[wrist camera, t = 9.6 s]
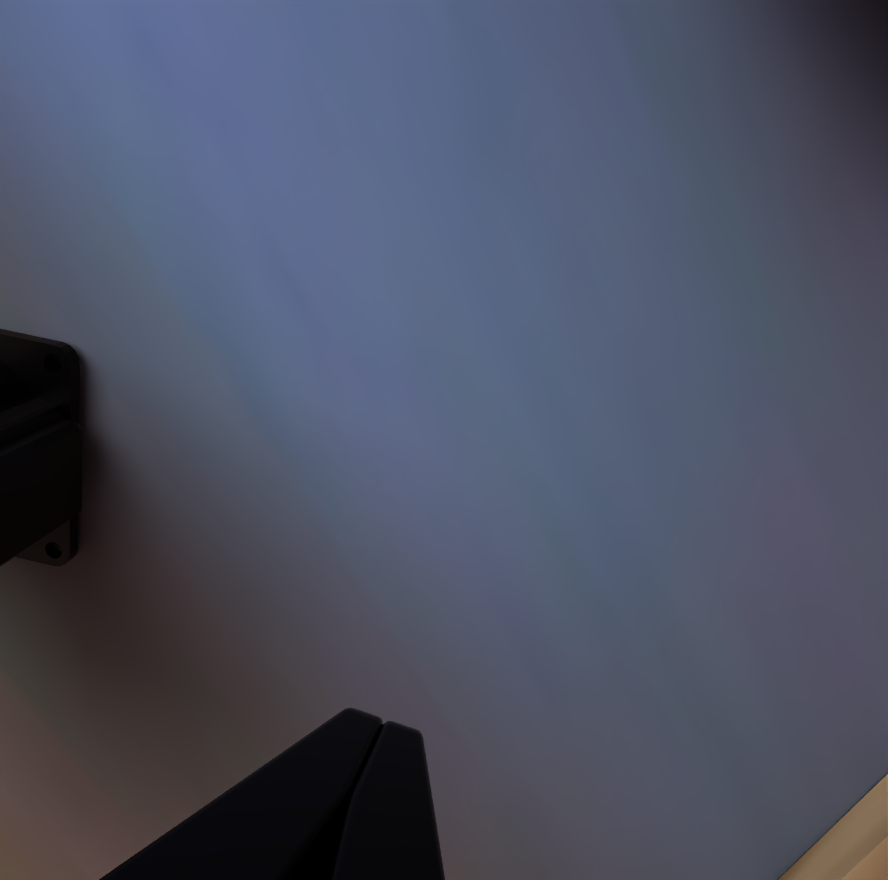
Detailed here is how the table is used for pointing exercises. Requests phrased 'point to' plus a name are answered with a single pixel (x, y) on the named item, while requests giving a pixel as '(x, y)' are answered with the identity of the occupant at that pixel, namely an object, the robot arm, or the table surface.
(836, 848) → the tunnel deck
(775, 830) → the table surface
